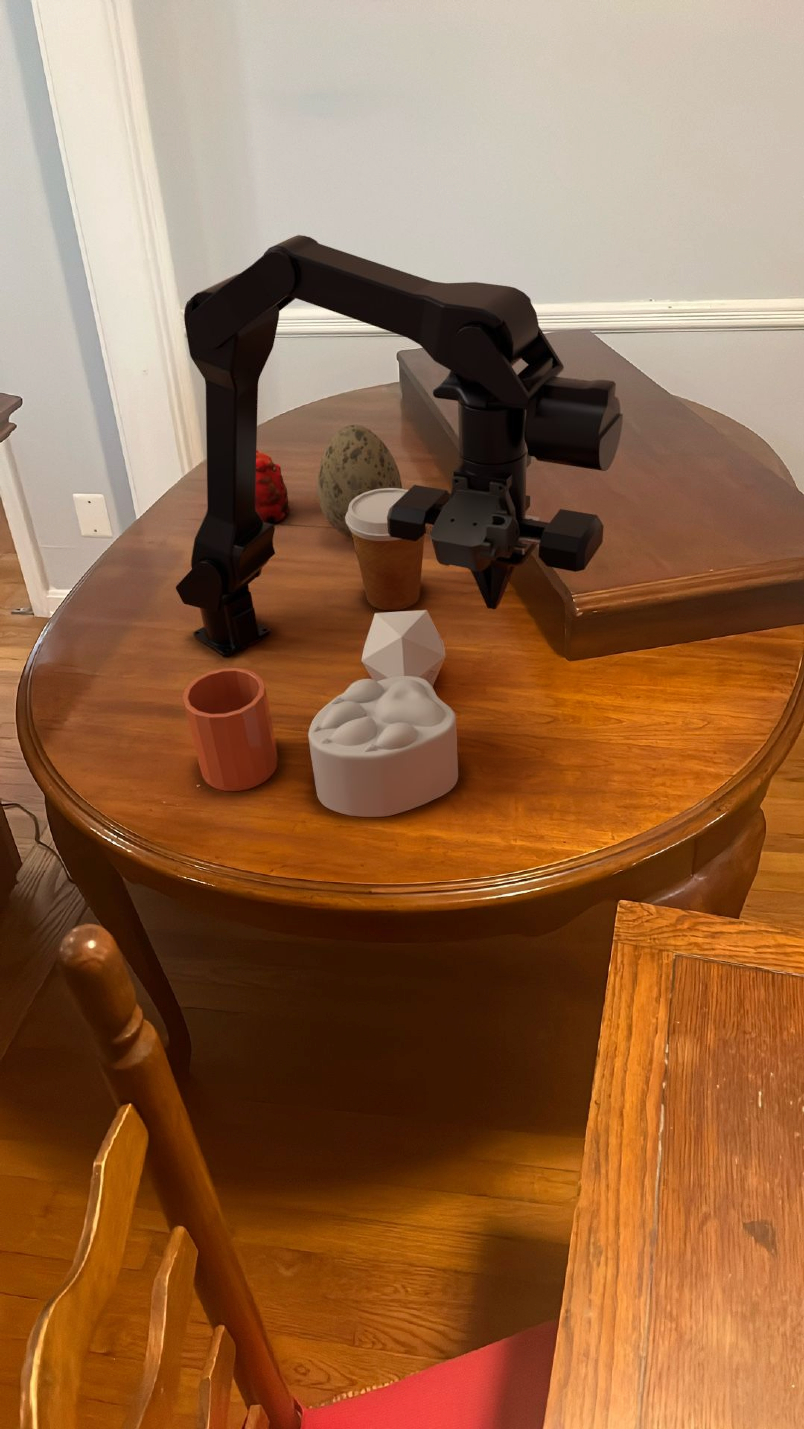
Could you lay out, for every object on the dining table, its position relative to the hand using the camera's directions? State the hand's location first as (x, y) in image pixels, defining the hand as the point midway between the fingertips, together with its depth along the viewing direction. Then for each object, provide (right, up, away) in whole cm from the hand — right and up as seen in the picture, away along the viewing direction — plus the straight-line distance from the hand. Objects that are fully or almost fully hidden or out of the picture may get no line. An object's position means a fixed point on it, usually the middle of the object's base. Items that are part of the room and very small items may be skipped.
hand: (493, 606), depth 94 cm
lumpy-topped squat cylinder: (-10, -16, 0) cm, 19 cm away
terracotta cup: (-24, -15, +2) cm, 29 cm away
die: (-8, -7, +11) cm, 16 cm away
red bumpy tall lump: (-28, +17, +44) cm, 54 cm away
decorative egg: (-14, +13, +37) cm, 42 cm away
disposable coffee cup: (-10, +4, +25) cm, 27 cm away
